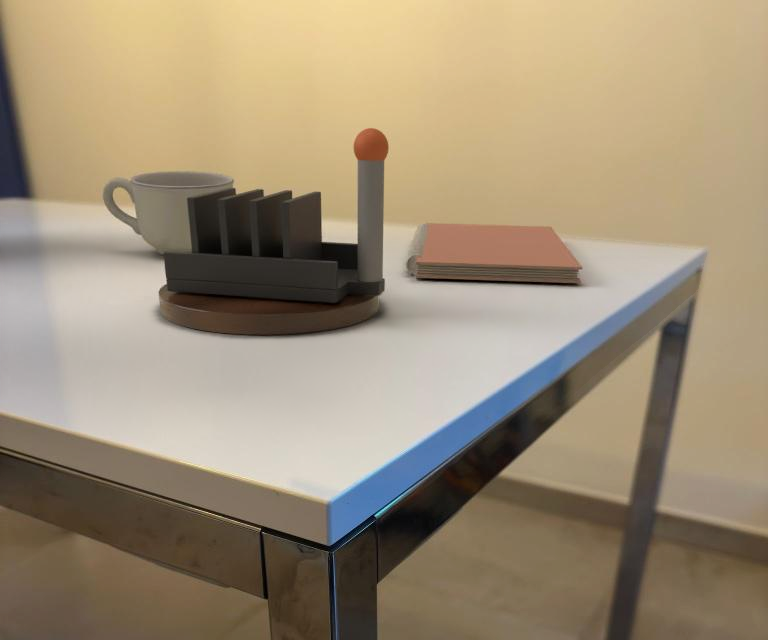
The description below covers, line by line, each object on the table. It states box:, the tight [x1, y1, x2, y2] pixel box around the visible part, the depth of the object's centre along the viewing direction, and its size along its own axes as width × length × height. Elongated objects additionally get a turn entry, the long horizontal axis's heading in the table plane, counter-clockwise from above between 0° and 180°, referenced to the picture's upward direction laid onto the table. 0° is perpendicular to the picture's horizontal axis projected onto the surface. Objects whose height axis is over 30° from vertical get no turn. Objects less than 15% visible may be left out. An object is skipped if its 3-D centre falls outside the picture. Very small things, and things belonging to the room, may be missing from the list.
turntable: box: [158, 283, 380, 336], centre depth 65 cm, size 18×18×2 cm
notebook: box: [405, 222, 583, 284], centre depth 87 cm, size 27×17×2 cm, turn 175°
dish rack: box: [162, 127, 389, 303], centre depth 61 cm, size 17×9×12 cm, turn 77°
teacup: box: [102, 170, 235, 255], centre depth 85 cm, size 14×11×8 cm
